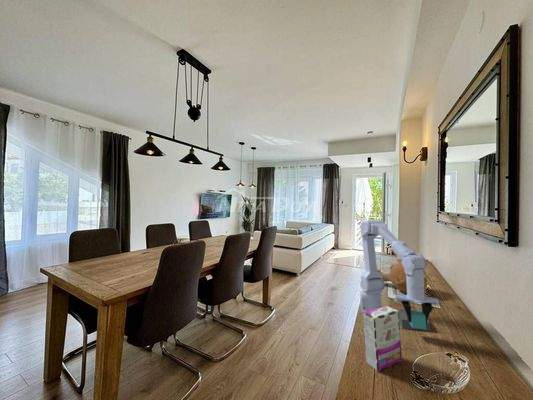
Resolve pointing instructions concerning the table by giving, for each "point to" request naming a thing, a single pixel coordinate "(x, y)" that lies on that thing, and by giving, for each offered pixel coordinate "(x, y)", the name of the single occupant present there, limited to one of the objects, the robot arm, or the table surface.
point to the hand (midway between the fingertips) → (417, 321)
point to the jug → (399, 277)
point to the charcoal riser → (405, 323)
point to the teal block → (418, 319)
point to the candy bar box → (382, 337)
